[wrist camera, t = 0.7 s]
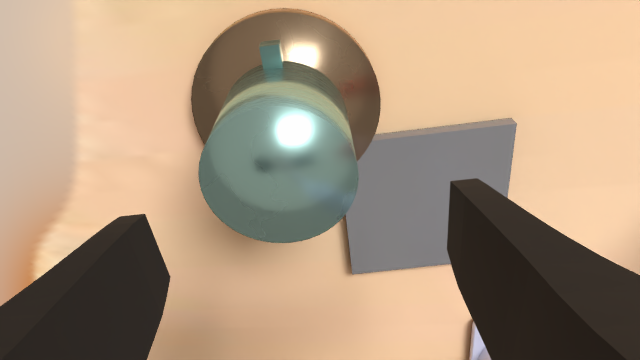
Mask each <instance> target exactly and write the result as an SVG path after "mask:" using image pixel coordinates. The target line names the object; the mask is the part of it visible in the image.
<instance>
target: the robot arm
mask: <svg viewBox="0 0 640 360" xmlns="http://www.w3.org/2000/svg"><path fill="white" fill-rule="evenodd" d="M447 251H448V255H449V258H450V262H451V265H452V269H453V272H454V275H455V278H456V281H457V284H458V287H459V290H460V292H461V294H462V296H463V299H464V301H465V303H466V305H467V308H468V310H469V312H470V314H471V316H472V319H473V325H472V336H471V347H470V358H469V360H640V275H638V274H636V273H634V272H632V271H630V270H628V269H626V268H624V267H622V266H620V265H617V264H615V263H614V262H612V261H610V260H608V259H606V258H604V257H602V256H600V255H598V254H597V253H595V252H593V251H591V250H590V249H588V248H586V247H584V246H583V245H581V244H579V243H577V242H576V241H574V240H572V239H570V238H569V237H567V236H565V235H564V234H562V233H560V232H559V231H557V230H555V229H554V228H552V227H550V226H549V225H547V224H546V223H544V222H543V221H541V220H539V219H538V218H536V217H535V216H533V215H532V214H530V213H529V212H527V211H526V210H524V209H523V208H521V207H520V206H518V205H517V204H515V203H514V202H512V201H511V200H509V199H508V198H506V197H505V196H504V195H502V194H501V193H499V192H498V191H496V190H495V189H493V188H492V187H490V186H489V185H487V184H486V183H484V182H483V181H481V180H479V179H478V178H474V179H465V180H456V181H450V198H449V217H448V236H447ZM169 282H170V275H169V273H168V270H167V268H166V265H165V263H164V260H163V258H162V255H161V253H160V250H159V248H158V245H157V243H156V240H155V238H154V235H153V233H152V230H151V228H150V225H149V223H148V220H147V218H146V215H145V214H140V215H130V216H121V217H119V218H117V219H116V220H114V221H112V222H111V223H110V224H108V225H107V226H105V227H104V228H103V229H101V230H100V231H99V232H97V233H96V234H95V235H94V236H92V237H91V238H90V239H88V240H87V241H86V242H85V243H83V244H82V245H81V246H80V247H78V248H77V249H76V250H74V251H73V252H72V253H71V254H69V255H68V256H67V257H66V258H64V259H63V260H62V261H60V262H59V263H58V264H57V265H55V266H54V267H53V268H52V269H50V270H49V271H48V272H46V273H45V274H44V275H43V276H41V277H40V278H38V279H37V280H36V281H34V282H33V283H32V284H30V285H29V286H28V287H26V288H25V289H23V290H22V291H21V292H19V293H18V294H17V295H15V296H14V297H13V298H11V299H10V300H9V301H7V302H6V303H4V304H3V305H2V306H0V360H147V357H148V354H149V352H150V349H151V346H152V343H153V341H154V338H155V335H156V332H157V329H158V327H159V324H160V321H161V318H162V315H163V310H164V306H165V302H166V297H167V292H168V287H169Z"/></svg>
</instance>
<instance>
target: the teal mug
mask: <svg viewBox="0 0 640 360" xmlns="http://www.w3.org/2000/svg"><path fill="white" fill-rule="evenodd" d="M259 49H260V55H261V60H262V65H259V66H257V67H255V68H253V69H251V70H249V71H248V72H246V73H245V74H243V75H242V76H241V77H240V78H239V79H238V80H237V81H236V82H235V84H234V85H233V86H232V88H231V89H230V91H229V93H228V95H227V97H226V100H225V102H224V104H223V106H222V108H221V111H220V113H219V115H218V117H217V120H216V122H215V124H214V126H213V129H212V131H211V133H210V135H209V138H208V140H207V142H206V144H205V147H204V149H203V152H202V154H201V158H200V162H199V183H200V187H201V191H202V193H203V196H204V198H205V200H206V202H207V204H208V205H209V207H210V208H211V210H212V211H213V212H214V214H215V215H216V216H217V217H218V218H219V219H220V220H221V221H222V222H224V223H225V224H226V225H227V226H229V227H230V228H232V229H233V230H235V231H236V232H239V233H241V234H243V235H245V236H247V237H250V238H253V239H256V240H260V241H265V242H272V243H291V242H297V241H303V240H306V239H310V238H312V237H315V236H318V235H320V234H322V233H323V232H325V231H327V230H329V229H330V228H331V227H333V226H334V225H335V224H336V223H338V222H339V221H340V220H341V219H342V218H343V217H344V215H345V214H346V213H347V211H348V210H349V208H350V207H351V205H352V203H353V201H354V199H355V196H356V193H357V189H358V182H359V171H358V165H357V160H356V155H355V150H354V145H353V140H352V135H351V130H350V125H349V120H348V115H347V110H346V106H345V103H344V100H343V98H342V96H341V93H340V92H339V90H338V89H337V87H336V86H335V85H334V84H333V82H332V81H331V80H330V79H329V78H328V77H326V76H325V75H324V74H323V73H321V72H320V71H318V70H316V69H314V68H312V67H310V66H308V65H305V64H302V63H298V62H293V61H284V60H283V54H282V48H281V42H280V39H279V40H271V41H264V42H261V43H260V46H259Z"/></svg>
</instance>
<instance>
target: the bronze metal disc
mask: <svg viewBox="0 0 640 360" xmlns="http://www.w3.org/2000/svg"><path fill="white" fill-rule="evenodd" d="M279 39H280V42H281V48H282V54H283V60H284V61H293V62H298V63H302V64H305V65H308V66H310V67H312V68H314V69H316V70H318V71H320V72H321V73H323V74H324V75H325V76H326V77H328V78H329V79H330V80H331V81H332V82H333V84H334V85H335V86H336V87H337V89H338V90H339V92H340V93H341V96H342V98H343V100H344V103H345V106H346V110H347V115H348V120H349V125H350V130H351V135H352V140H353V145H354V150H355V155H356V160H357V161H358V160H359V159H360V158H361V156H362V155H363V154H364V153H365V151H366V150H367V148H368V147H369V145H370V143H371V141H372V139H373V137H374V135H375V132H376V129H377V125H378V122H379V116H380V92H379V86H378V82H377V78H376V75H375V73H374V71H373V68H372V66H371V63H370V61H369V59H368V57H367V56H366V54H365V52H364V51H363V49H362V48H361V46H360V45H359V44H358V43H357V41H356V40H355V39H354V38H353V37H352V36H351V35H350V34H349V33H348V32H347V31H346V30H344V29H343V28H342V27H340V26H339V25H337V24H336V23H334V22H333V21H331V20H329V19H327V18H325V17H323V16H320V15H317V14H315V13H312V12H308V11H303V10H299V9H287V8H282V9H270V10H265V11H260V12H257V13H254V14H251V15H248V16H246V17H244V18H242V19H240V20H238V21H236V22H234V23H233V24H232V25H230V26H229V27H228V28H226V29H225V30H224V31H223V32H222V33H221V34H220V35H219V36H218V37H217V38H216V39H215V40H214V42H213V43H212V44H211V46H210V47H209V48H208V50H207V51H206V52H205V54H204V55H203V57H202V59H201V61H200V63H199V65H198V68H197V70H196V73H195V76H194V81H193V86H192V97H191V101H192V112H193V116H194V121H195V124H196V127H197V130H198V132H199V134H200V136H201V138H202V140H203V142H204V144H206V142H207V140H208V138H209V135H210V133H211V131H212V129H213V126H214V124H215V122H216V120H217V117H218V115H219V113H220V111H221V108H222V106H223V104H224V102H225V100H226V97H227V95H228V93H229V91H230V89H231V88H232V86H233V85H234V84H235V82H236V81H237V80H238V79H239V78H240V77H241V76H242V75H243V74H245V73H246V72H248V71H249V70H251V69H253V68H255V67H257V66H259V65H262V60H261V55H260V49H259V46H260V43H261V42H264V41H271V40H279Z"/></svg>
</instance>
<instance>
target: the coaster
mask: <svg viewBox="0 0 640 360" xmlns="http://www.w3.org/2000/svg"><path fill="white" fill-rule="evenodd" d="M516 125H517V123H516V122H515V121H514V120H513V119H512V118H508V119H499V120H491V121H483V122H475V123H466V124H458V125H450V126H442V127H433V128H425V129H417V130H409V131H400V132H392V133H384V134H376V135H374V137H373V139H372V141H371V143H370V145H369V147H368V148H367V150H366V151H365V153H364V154H363V155H362V156H361V158H360V159H359V160H358V161H357V165H358V171H359V182H358V189H357V193H356V196H355V199H354V201H353V203H352V205H351V207H350V208H349V210H348V211H347V213H346V223H347V231H348V240H349V249H350V258H351V267H352V274H360V273H369V272H379V271H388V270H397V269H407V268H416V267H425V266H435V265H444V264H451V262H450V258H449V255H448V251H447V236H448V217H449V198H450V181H456V180H465V179H474V178H478V179H479V180H481V181H483V182H484V183H486V184H487V185H489V186H490V187H492V188H493V189H495V190H496V191H498V192H499V193H501V194H502V195H504V196H505V197H506V198H507V196H508V189H509V181H510V173H511V165H512V157H513V149H514V141H515V133H516Z"/></svg>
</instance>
